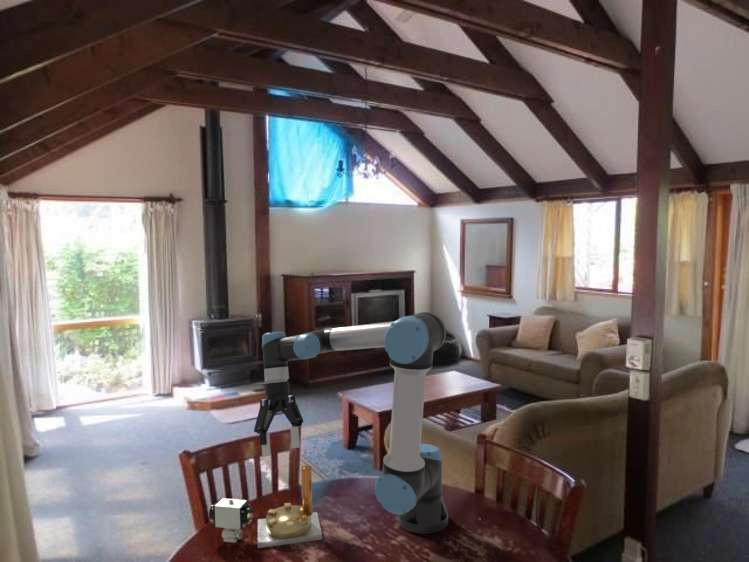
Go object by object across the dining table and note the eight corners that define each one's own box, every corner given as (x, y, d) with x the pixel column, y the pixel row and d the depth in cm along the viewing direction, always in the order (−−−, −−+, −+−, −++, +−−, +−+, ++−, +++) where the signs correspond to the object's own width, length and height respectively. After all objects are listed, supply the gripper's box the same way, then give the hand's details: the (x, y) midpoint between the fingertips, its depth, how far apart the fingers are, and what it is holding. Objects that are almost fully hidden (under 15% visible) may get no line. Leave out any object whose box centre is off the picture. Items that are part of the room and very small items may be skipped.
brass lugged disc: (310, 512, 161) (309, 458, 160) (315, 534, 148) (313, 476, 147) (266, 517, 158) (264, 463, 157) (266, 541, 145) (264, 481, 144)
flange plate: (317, 516, 161) (317, 512, 161) (322, 539, 149) (322, 534, 149) (257, 524, 157) (257, 519, 157) (257, 548, 145) (257, 542, 145)
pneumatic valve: (247, 546, 146) (246, 504, 145) (209, 542, 148) (208, 501, 147) (256, 535, 151) (254, 495, 150) (219, 532, 153) (217, 492, 153)
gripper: (293, 379, 176) (298, 444, 172) (239, 385, 154) (243, 459, 151) (310, 378, 172) (316, 444, 168) (257, 383, 151) (262, 459, 147)
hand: (281, 451), depth 160 cm, fingers open, 13 cm apart
